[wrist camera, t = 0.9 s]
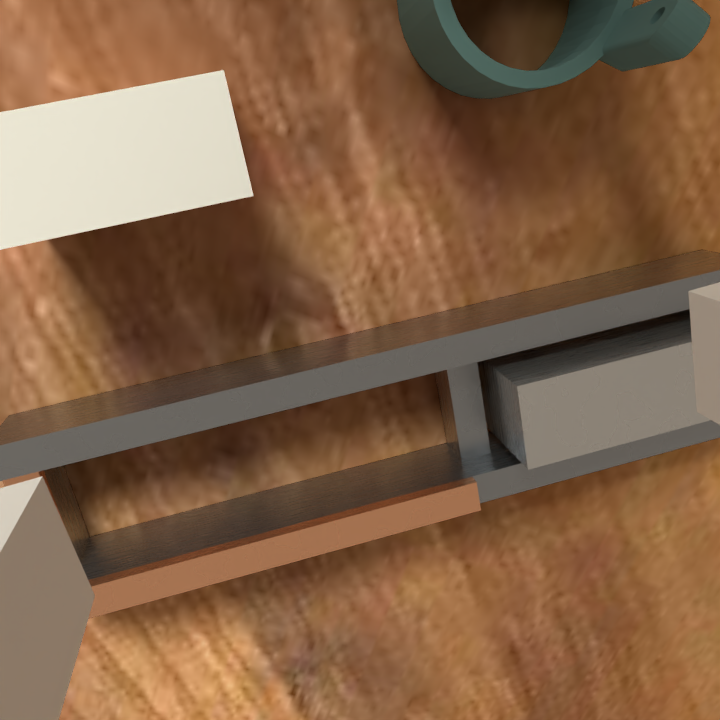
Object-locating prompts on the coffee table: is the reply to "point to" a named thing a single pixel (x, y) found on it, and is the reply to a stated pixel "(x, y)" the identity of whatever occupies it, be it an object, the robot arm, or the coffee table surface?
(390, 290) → the coffee table surface
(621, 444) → the rack
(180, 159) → the block
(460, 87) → the teal cylindrical holder
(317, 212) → the coffee table surface
